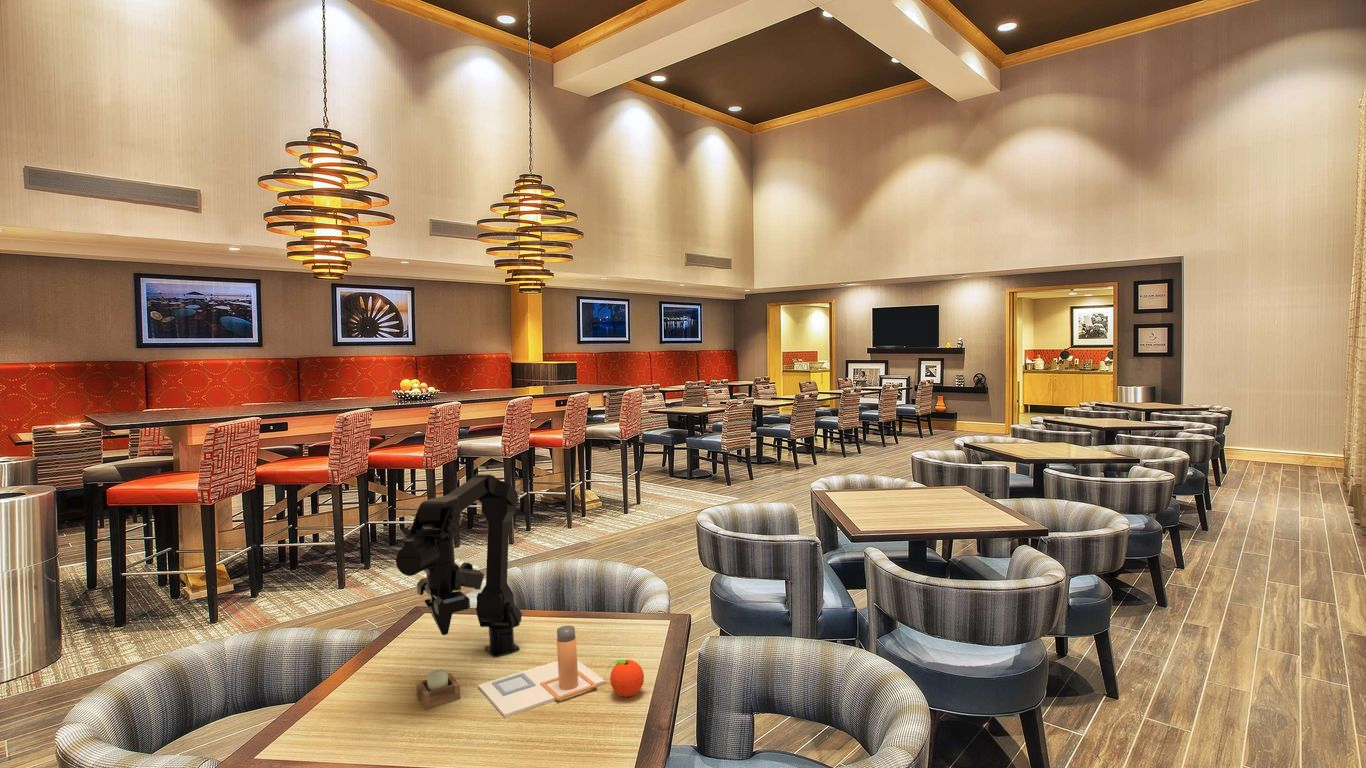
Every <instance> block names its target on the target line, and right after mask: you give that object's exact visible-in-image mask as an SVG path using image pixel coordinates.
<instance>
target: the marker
mask: <svg viewBox="0 0 1366 768" xmlns="http://www.w3.org/2000/svg"><path fill="white" fill-rule="evenodd" d="M556 635H557V636H556V637H557V638H556V651H557V652H556V653H557V655H556V656H557V661H558V675H559V688H560V689H562V690H571V689H574V688H576V687H577V686H578V668H577V660H578V653H577V652H578V651H577V636H576V629H575V626H573V625H564V626H560V627H558V628H557V629H556Z"/></svg>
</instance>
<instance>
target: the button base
mask: <svg viewBox="0 0 1366 768" xmlns="http://www.w3.org/2000/svg"><path fill="white" fill-rule="evenodd" d="M447 673H448V672H447ZM415 687H416V697H418V698H417V699H418V701H419V702H420V704H421V705H422V707H423V708H424V710H428V709H433V708H436V707H438V706H442V705H445V704H448V703H452V702H455V701H458V700H460V699H461V685H460V683H459V682H458V681H457V679H456V677H455V676H454V675H453V674H452V673H451V672H449V673H448V686H446V687H442V688H439V689H436V690H432V691H429V692H428V685H427V679H424V680H421V681H417V682H415Z"/></svg>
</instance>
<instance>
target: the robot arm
mask: <svg viewBox="0 0 1366 768" xmlns="http://www.w3.org/2000/svg"><path fill="white" fill-rule="evenodd" d="M476 501H478V502H479V503H480V506H481V512H482V515H483V517H484V518H485V521H487V543H486V544H487V545H486V547H487V549H486V573H485V574H484V573H483V572H481V571H480V570H477V569H475V568H474V567H473V564H472V563H470V562H465V561H463V563H461V564H460V566H459V565H458V564H457V563H456V562H455V561H456V560H455V559H456V557H455V542H454V541H455V540H454V536H455V535H457V534H459V529H457V528H456V527H454V526H455V525H456V524H457V523H458V521H460V519H461V518H462V514H461V513H462V512H463V511H464V510H466V509H468V507H470V506H471V505H473V504H474V503H475V502H476ZM518 501H519V493H518V492H517V490H516V489H515V487H514V486H512V485H511V484H509V483H507V482H505V481H503V480H501V479H498V478H497V477H496V476H495V475H492V474H490V473H489V474H487V473H486V474H475V475H472V476H471V477H470V479H469V480H467V481H465V483H463V484H461V485H459V486H458V487H456V488H455V489H454V490H453V491H451V492H449V493H448V494H446V495H443V496H438V497H431V498H430V499H426V500H424V501H422V503H420V504H419V506H418V509H417V511H416V514H415V516H414V519H413V522H412V525H411V528H410V531H409V533H408V539H406V540H404V541H403V547H402V548H400V549H399V550H398V552H397V555H396V558H395V564H396V568H397V570H398V571H399V572H400V573H401V574H403V575H404V576H408V577H412V576H415V575H416V574H419V573H421V572H423V571H424V572H425V573H426V577H424V578H423V577H422V578H420V579H419V581H418V582H417V584H416V590H417V591H416V592H417V594H418V595H419V596H424V592H426V595H427V597H428V599H425V600H423V602H424V604H425V606H426V608H427V610H428V611H429V612H430V614H431V617H432V618H433V620H434V623H435V624H436V626H437V628H438V630H439V632H440V634H441V635H442V636H446V635H448V634H449V630H450V626H451V621H452V617H453V614H454V613H457V612H461V611H465V610H468V609H471V604H470V603H471V600H470V598H469V597H468V595H466V594H464V592H462V591H461V590H462V587H464V588H471V589H474V590H478V591H479V590H481V587H482V585H483V580H484V577H485V578H486V579H485V585H484V587H483V588H482V590H481V592H478V593H477V595H476V606H475V607H476V608H475V613H476V616H477V620H478V623H479V627H481V628H488V637H489V638H488V639H489V645H486V646H485V647H484V650H486V651H487V653H488V654H490V655H491V656H492V657H493V658H495V657H500V656H502V655H507V654H510V653H514V652H517V651H520V646H518V645H517V644H516V643H515V636H514V635H515V634H514V628H516V627H519V626H520V624H521V622H522V615H523V614H522V613H523V612H522V611H521V610H520V609H519V608H518V607H517V605H515V601H514V600H515V599H514V598H515V597H514V593H513V591H512V589H511V588H510V585H509V583H508V566H509V565H508V564H509V563H508V561H509V560H508V559H509V538H510V537H509V531H510V521H512V518H513V517H514V516H515V514H516V512H517V504H518ZM485 575H486V576H485Z"/></svg>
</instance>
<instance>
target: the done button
mask: <svg viewBox="0 0 1366 768" xmlns="http://www.w3.org/2000/svg"><path fill="white" fill-rule="evenodd" d="M426 680H427V685H428V692H429V691H432V690H436V689H439V688H442V687H446V686H448V670H447V669H443V668H441V669H435V670H432V671H430V672H428V673H427V675H426Z"/></svg>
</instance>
